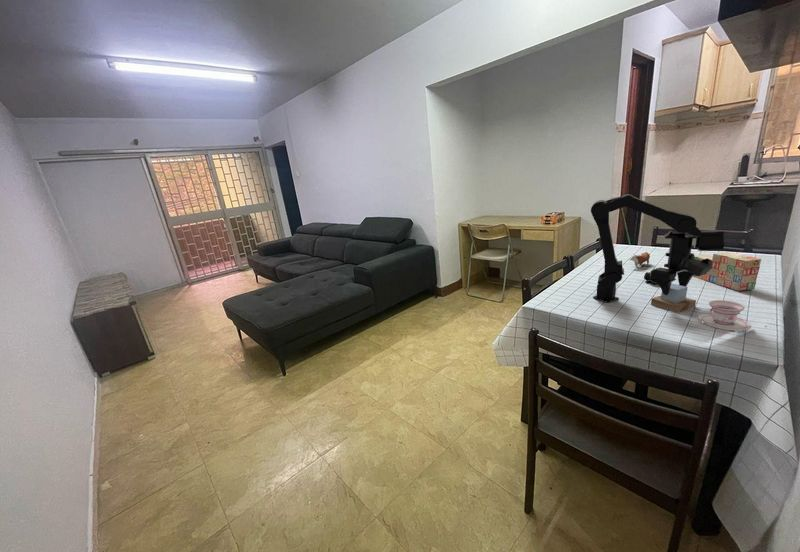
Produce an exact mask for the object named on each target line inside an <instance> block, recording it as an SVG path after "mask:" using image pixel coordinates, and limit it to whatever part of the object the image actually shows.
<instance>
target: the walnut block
mask: <svg viewBox="0 0 800 552" xmlns="http://www.w3.org/2000/svg"><path fill="white" fill-rule="evenodd" d="M650 300H651V301H650V305H651V306H653V307H654V306H655V307H657V308H661V309H664V310H667V311H672V312H675V313H680V312H683V311H687V310H691V309H692V308H695V307H696V304H697V300H696V299H694V298H693V299H692V298H688V297H686V300H684V301H681V302H678V303H674V302H670V301H666V300H663V299H661V295H658V296H655V297H652V298H651V299H650Z"/></svg>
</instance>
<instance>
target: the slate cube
mask: <svg viewBox="0 0 800 552" xmlns="http://www.w3.org/2000/svg"><path fill="white" fill-rule="evenodd" d="M687 293H688V286H686V287H685V286H681V285H679V284H676V283H671V286H670V290H669V293H668V295H664V294H663V292H662V291H661V294H660V296H661V299H663V300H666V301H670V302H674V303H678V302H681V301H684V300H686V298H687Z"/></svg>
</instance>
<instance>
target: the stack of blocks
mask: <svg viewBox="0 0 800 552" xmlns="http://www.w3.org/2000/svg"><path fill="white" fill-rule="evenodd" d="M694 255H695V254H694ZM707 258H708V259H710V260H712V269H710V270H708V272H707V273H706V274H705V275H701V276H695V275H694V276H693V277H694V278H697V279H698V280H699V279H700V280H703V281H706V282H710V283H712V284H717V285H718V286H723V287H725V288H729V289H731V290H735V291H738V292H741V291H748V290H754V289H755V287H756V283H757V279H758V275H759V271H760V268H761V267H760V265H761V262H762V258H760V257H759V258H758V257H754V256H751V255H747V254H746V255H745V254H740V253H736V252H730V251H725V252H724V251H721V252H715V253H713V254H712V255H710V254H706V253H704V254H697V255H695V256H694V259H697V260H699V259H700V261H702V260H704V259H707ZM693 277H692V278H693Z"/></svg>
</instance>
